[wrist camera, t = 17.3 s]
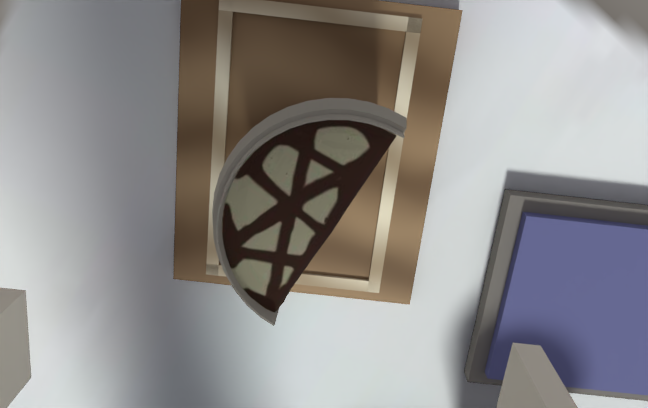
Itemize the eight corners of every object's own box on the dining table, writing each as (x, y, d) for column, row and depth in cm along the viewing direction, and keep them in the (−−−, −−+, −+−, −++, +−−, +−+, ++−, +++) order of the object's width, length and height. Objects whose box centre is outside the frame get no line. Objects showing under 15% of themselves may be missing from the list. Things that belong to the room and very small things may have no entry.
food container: (303, 34, 34) (291, 48, 24) (391, 92, 35) (412, 126, 25) (202, 204, 37) (157, 273, 28) (285, 251, 38) (268, 334, 29)
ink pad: (653, 391, 43) (668, 409, 41) (464, 371, 42) (470, 389, 40) (717, 212, 38) (737, 224, 36) (505, 189, 38) (514, 199, 36)
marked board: (407, 297, 40) (409, 305, 39) (177, 272, 40) (172, 280, 39) (458, 10, 34) (463, 10, 33) (186, -22, 34) (180, -23, 33)
